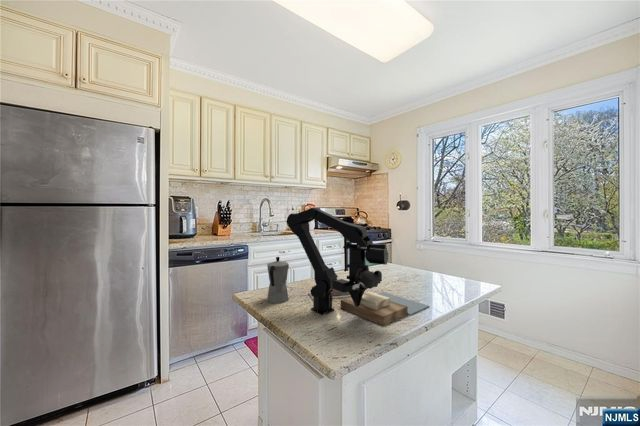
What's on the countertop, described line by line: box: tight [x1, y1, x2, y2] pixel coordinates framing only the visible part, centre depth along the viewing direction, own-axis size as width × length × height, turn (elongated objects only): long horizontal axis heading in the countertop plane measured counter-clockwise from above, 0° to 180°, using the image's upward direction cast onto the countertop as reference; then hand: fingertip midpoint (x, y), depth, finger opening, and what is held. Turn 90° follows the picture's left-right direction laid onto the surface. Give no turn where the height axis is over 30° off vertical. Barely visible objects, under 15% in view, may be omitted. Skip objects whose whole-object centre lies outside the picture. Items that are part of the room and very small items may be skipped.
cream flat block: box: [360, 291, 390, 310], centre depth 97 cm, size 8×10×2 cm
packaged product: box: [307, 285, 351, 301], centre depth 115 cm, size 18×5×10 cm
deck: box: [340, 297, 409, 327], centre depth 97 cm, size 14×20×3 cm
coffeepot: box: [266, 256, 290, 304], centre depth 109 cm, size 15×9×18 cm, turn 172°
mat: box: [377, 291, 430, 317], centre depth 106 cm, size 13×22×1 cm, turn 39°
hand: (357, 306), depth 92 cm, fingers closed
